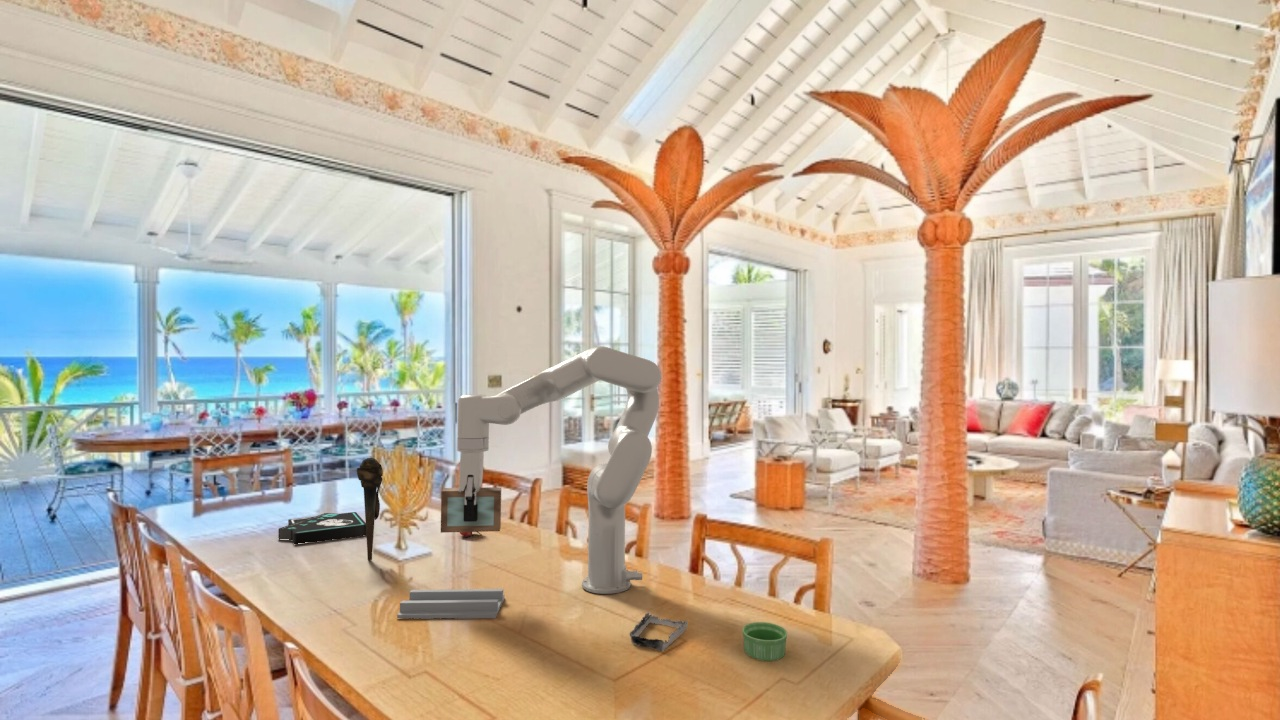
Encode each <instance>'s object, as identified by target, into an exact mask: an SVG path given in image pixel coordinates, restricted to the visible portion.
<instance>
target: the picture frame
mask: <svg viewBox="0 0 1280 720" xmlns="http://www.w3.org/2000/svg"><path fill="white" fill-rule="evenodd" d="M461 492H462V493H460V492H459V487H443V489H441V492H440V493H441V494H440V495H441V497H440V501H441V502H440V504H441V505H440V534H442V533H459V532H472V533H477V532H479V533H481V532H486V533H487V532H501V527H502V526H501V525H502V487H499V486H498V487H496V486H495V487H494V486H493V487H492V486H491V487H481V489H480V491H479V492H477V503H476V504H478V512H477V521H469V522H465V521H464V505H465V489H464V491H461ZM472 492H475V489H474V490H473V491H472ZM473 495H474V494H473Z"/></svg>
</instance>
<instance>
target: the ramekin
mask: <svg viewBox="0 0 1280 720" xmlns="http://www.w3.org/2000/svg"><path fill="white" fill-rule="evenodd" d="M741 632H742V636H743V648H744V649H743V650H744V653H745V654H746V655H747V656H748V655H749V656H748V657H750V658H752V659H754V660H757V659H758V660H757V661H762V660H763V662H774V661H773V660H775V661H779V660H781V659H782V658H783V657H784V656H785V654H786V643H787V639H788V631H787V630H786V629H785V628H784V627H783V626H781V625H779V624H776V623H772V622H764V621H758V622H756V621H755V622H751V623H747V624H745V625H744V626H743V627H742V629H741Z"/></svg>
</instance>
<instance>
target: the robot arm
mask: <svg viewBox="0 0 1280 720" xmlns="http://www.w3.org/2000/svg"><path fill="white" fill-rule="evenodd" d="M599 381H602V382H604V383H608V384H611V385H614V386H618V387H621V388H624V389H626V392H627V402H626V404H625V408H624V410H623V413H622V414H621V417H620V418H619V421H618V423H617V425H616V427H615V429H614V431H613V433H612V434H611V436H610V438H609V441H608V444H607V449H608V452H609V454H610V458H609V459H608V461H607V463H601V464H599V465H597V466H595V467H593V469H592V470H591V471H590V473H589V474H588V477H587V482H586V483H587V485H586V487H587V489H586V490H587V491H586V492H587V503H588V504H587V505H588V538H587V539H588V540H587V541H588V543H587V545H588V546H587V548H588V549H587V553H588V556H587V557H588V559H587V560H588V561H587V562H588V563H587V564H588V565H587V566H588V567H587V577H585V578H584V579H582V581H581V586H582V588H583V590H585V591H587V592H589V593H593V594H599V595H612V594H614V595H615V594H619V593H622V592H625V591H627V590H628V589H630V587H631V583H632V582H631V581H643V572H640V571H638V570H629V569H627V565H626V564H625V563H626V507H625V505H627V504H628V503H629V502H630V501H631V499H632V498H633V496H634V494H635V493H636V490H637V489H638V486H639V484H640V482H641V480H642V478H643V476H644V474H645V472H646V470H647V467H648V465H649V463H650V461H651V457H652V453H653V446H652V442H651V439H650V438H649V434H650V432H651V430H652V428H653V425H654V422H655V420H656V418H657V415H658V412H659V408H660V394H659V389H658V387H659V386H660V384H661V382H662V372H661V369H660V367H659V365H658V364H656V363H655V362H654V361H652V360H649V359H647V358H642V357H639V356H636V355H633V354H629V353H626V352H623V351H621V350H617V349H614V348H611V347H608V346H604V345H603V346H595V347H591V348H588V349H587V350H584V351H582V352H580V353H578V354H576V355H573V356H571V357H570V358H568V359H566V360H564V361H562V362H559V363H558V364H555V365H553V366H551V367H549V368H547V369H545V370H543V371H541V372H540V373H538V374H536V375H534V376H532V377H530V378H529V379H527V380H525V381H522V382H520V383H518V384H516V385H513V386H512V387H510V388H507V389H506V390H504V391H502V392H499V393H498V394H496V395H491V396H490V395H489V396H488V395H486V394H476V393H475V394H462V395H461V396H459V397H458V402H457V441H456V442H457V443H456V444H457V445H456V446H457V447H456V451H457V452H459V453H460V458H459V459H460V460H459V475H458V476H459V478H458V481H459V482H458V488H459V492H460V493H462V492H461V491H464V489H465V505H464V521H465V522H469V521H477V512H478V504H476V503H477V492H479V491H480V489H481V488H482V486H483V479H484V456H485V455H484V453H485V452H488V451H489V443H490V441H489V439H490V437H489V435H490V424H495V425H499V426H500V425H502V426H508V425H512V424H514V423H516V422H517V421H518V420H519V418H520V417H521V415H523V414H524V413H527V412H528V411H531V410H533V409H535V408H536V407H539V406H542V405H544V404H546V403H553V402H557V401H560V400H563V399H565V398H567V397H569V396H571V395H573V394H575V393H577V392H579V391H581V390H582V389H585V388H587V387H589V386H591V385H593V384H595V383H597V382H599ZM474 489H475V492H472V491H473V490H474ZM473 494H474V495H473Z"/></svg>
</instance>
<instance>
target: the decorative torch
mask: <svg viewBox="0 0 1280 720" xmlns="http://www.w3.org/2000/svg"><path fill="white" fill-rule="evenodd" d="M383 472H384V471H383V467H382V464H380V463H379V461H378V460H377V459H376V458H375V457H367V458H365V459H362V462H361V463H360V465H359V467H358V468H356V475H357V479H358V480H359V481H360V485H361V488H363V502H364V514H365V515H364V516H365V517H364V518H365V520H364V521H365V523H366V536H365V537H366V551H367V555H366V556H367V561H368V562H372V560H373V546H374V533H375V521H376V520H377V519H378V518H379V517H380V510H381V508H380V507H381V503H380V497H379V490H380V488H381V484H382V483H383V474H384V473H383Z"/></svg>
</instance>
